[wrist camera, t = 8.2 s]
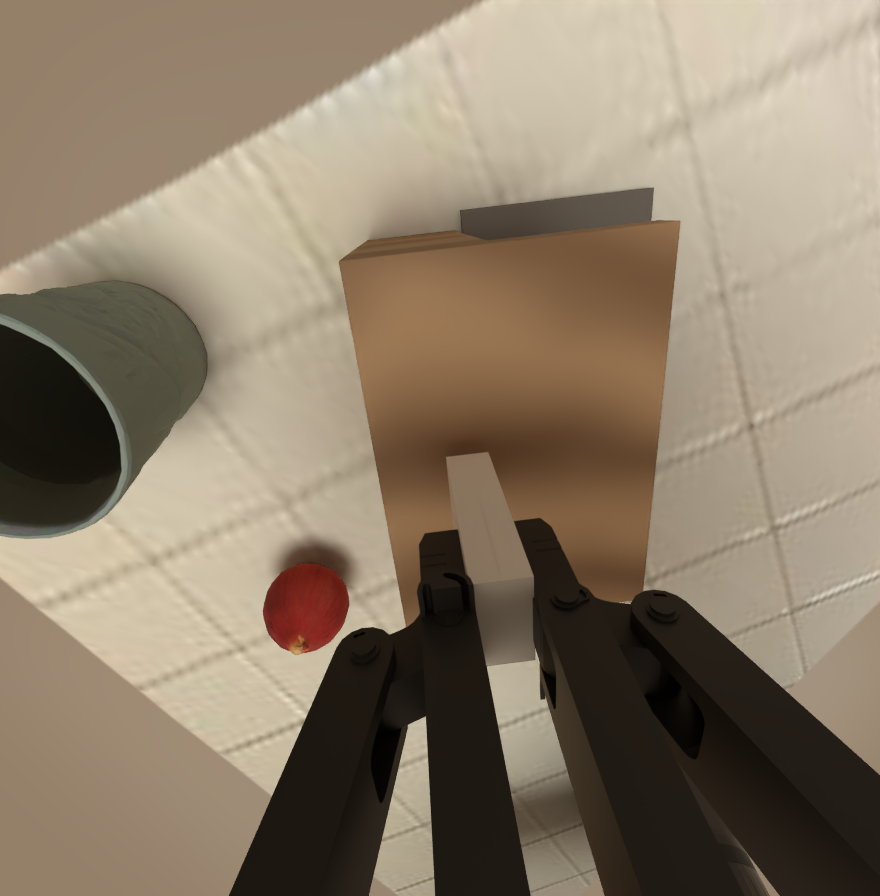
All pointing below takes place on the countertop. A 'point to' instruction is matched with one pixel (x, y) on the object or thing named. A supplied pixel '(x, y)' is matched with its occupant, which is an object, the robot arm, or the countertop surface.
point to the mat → (558, 215)
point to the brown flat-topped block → (519, 383)
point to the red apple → (305, 607)
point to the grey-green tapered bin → (87, 399)
